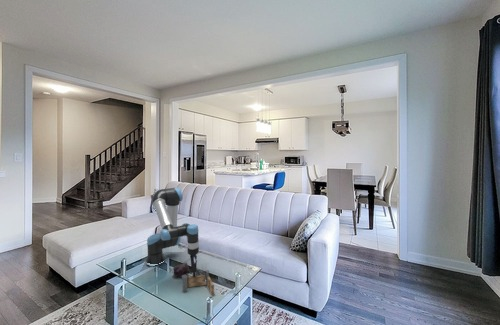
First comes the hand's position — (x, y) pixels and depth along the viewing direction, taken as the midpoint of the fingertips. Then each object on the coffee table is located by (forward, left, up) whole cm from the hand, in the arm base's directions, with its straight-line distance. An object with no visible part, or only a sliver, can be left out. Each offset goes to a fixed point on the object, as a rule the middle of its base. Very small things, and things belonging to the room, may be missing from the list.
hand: (194, 279), depth 159 cm
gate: (+2, +1, -4) cm, 4 cm away
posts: (+4, 0, -4) cm, 6 cm away
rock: (-18, -6, -4) cm, 19 cm away
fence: (+11, +8, -4) cm, 15 cm away
